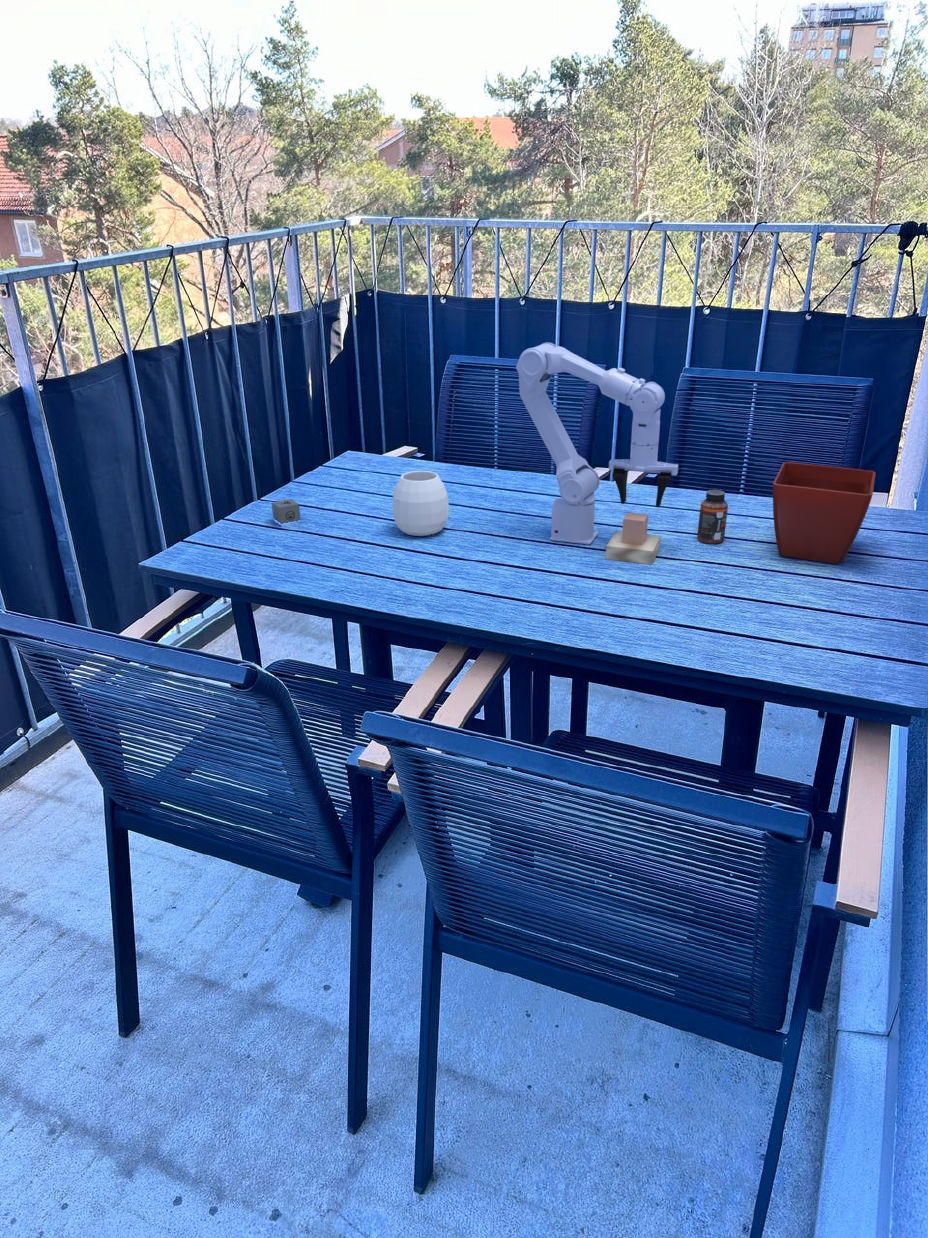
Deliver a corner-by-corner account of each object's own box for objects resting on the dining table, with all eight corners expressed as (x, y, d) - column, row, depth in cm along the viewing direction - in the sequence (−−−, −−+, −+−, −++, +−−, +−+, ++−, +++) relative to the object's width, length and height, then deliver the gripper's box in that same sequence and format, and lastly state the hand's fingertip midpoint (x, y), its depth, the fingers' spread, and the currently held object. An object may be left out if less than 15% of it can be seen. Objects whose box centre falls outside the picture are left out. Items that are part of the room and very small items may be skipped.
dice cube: (300, 523, 216) (298, 503, 214) (281, 527, 214) (279, 507, 212) (292, 518, 220) (290, 498, 218) (273, 522, 218) (271, 502, 215)
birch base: (605, 558, 192) (606, 545, 191) (615, 543, 201) (615, 530, 199) (651, 564, 189) (653, 551, 188) (659, 548, 197) (660, 535, 196)
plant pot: (862, 543, 199) (876, 469, 192) (857, 573, 183) (872, 494, 176) (773, 531, 206) (784, 460, 199) (761, 559, 191) (772, 483, 183)
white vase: (384, 536, 207) (380, 480, 201) (408, 519, 218) (405, 465, 212) (435, 543, 202) (434, 486, 196) (457, 525, 213) (456, 470, 207)
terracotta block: (621, 542, 192) (623, 518, 190) (626, 536, 196) (627, 512, 194) (642, 545, 191) (644, 521, 188) (646, 538, 195) (648, 514, 192)
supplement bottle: (724, 545, 199) (730, 496, 194) (697, 543, 200) (702, 495, 195) (723, 536, 204) (728, 488, 199) (696, 534, 205) (701, 487, 200)
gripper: (606, 444, 187) (603, 506, 193) (676, 449, 182) (670, 512, 188) (614, 436, 193) (611, 496, 199) (681, 441, 188) (676, 503, 194)
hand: (640, 504), depth 194 cm, fingers open, 7 cm apart
